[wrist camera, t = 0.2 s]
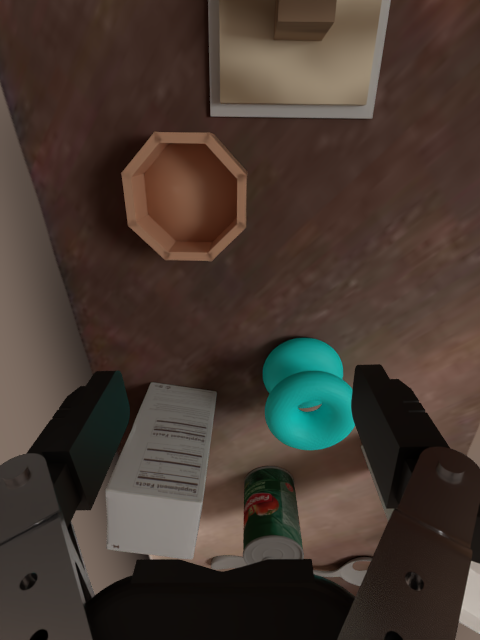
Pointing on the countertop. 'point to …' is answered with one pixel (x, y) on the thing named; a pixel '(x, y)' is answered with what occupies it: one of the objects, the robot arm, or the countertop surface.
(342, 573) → the spoon
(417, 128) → the countertop surface
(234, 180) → the bowl
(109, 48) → the countertop surface
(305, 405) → the donuts
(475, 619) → the milk
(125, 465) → the supplement box
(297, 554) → the canned tomato
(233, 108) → the mat
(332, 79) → the lid
